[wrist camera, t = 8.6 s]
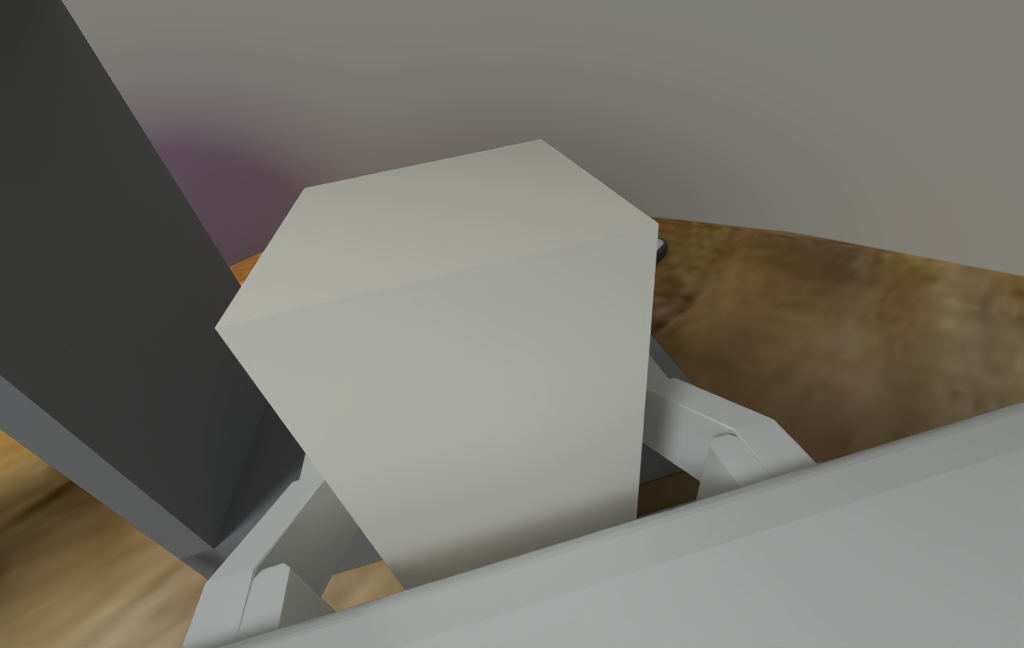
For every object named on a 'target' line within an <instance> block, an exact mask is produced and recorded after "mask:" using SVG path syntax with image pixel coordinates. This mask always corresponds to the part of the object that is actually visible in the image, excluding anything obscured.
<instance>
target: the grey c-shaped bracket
mask: <svg viewBox="0 0 1024 648" xmlns="http://www.w3.org/2000/svg"><path fill="white" fill-rule="evenodd" d="M240 288H241V286H240V284H239V282H238V281H237V279H236V278H235V276H234V274H233V273H232V271H231V270H230V268H229V266H228V265H227V263H226V262H225V260H224V259H223V257H222V255H221V254H220V252H219V251H218V249H217V247H216V246H215V244H214V243H213V241H212V239H211V238H210V236H209V235H208V233H207V231H206V230H205V228H204V227H203V225H202V223H201V222H200V220H199V219H198V217H197V215H196V214H195V212H194V211H193V209H192V207H191V206H190V204H189V203H188V201H187V200H186V198H185V197H184V195H183V193H182V192H181V190H180V188H179V187H178V185H177V184H176V182H175V180H174V179H173V177H172V176H171V174H170V172H169V171H168V169H167V168H166V166H165V164H164V163H163V161H162V160H161V158H160V156H159V155H158V153H157V152H156V150H155V149H154V147H153V145H152V144H151V142H150V141H149V139H148V137H147V136H146V134H145V133H144V131H143V129H142V128H141V126H140V125H139V123H138V121H137V120H136V118H135V117H134V115H133V113H132V112H131V110H130V109H129V107H128V106H127V104H126V102H125V101H124V99H123V98H122V96H121V94H120V93H119V91H118V90H117V88H116V87H115V85H114V84H113V82H112V80H111V78H110V77H109V76H108V74H107V72H106V71H105V69H104V67H103V66H102V64H101V62H100V61H99V59H98V58H97V56H96V55H95V53H94V51H93V50H92V48H91V47H90V45H89V43H88V42H87V40H86V39H85V37H84V35H83V34H82V32H81V31H80V29H79V27H78V26H77V24H76V23H75V21H74V19H73V18H72V16H71V15H70V13H69V12H68V10H67V8H66V7H65V5H64V4H63V2H62V0H0V429H1V430H2V431H4V432H5V433H6V434H8V435H9V436H10V437H12V438H13V439H15V440H16V441H17V442H19V443H20V444H21V445H23V446H24V447H26V448H27V449H28V450H30V451H31V452H33V453H34V454H35V455H37V456H38V457H39V458H41V459H42V460H44V461H45V462H46V463H48V464H49V465H50V466H52V467H53V468H55V469H56V470H57V471H59V472H60V473H61V474H63V475H64V476H66V477H67V478H68V479H70V480H71V481H73V482H74V483H75V484H77V485H78V486H79V487H81V488H82V489H84V490H85V491H86V492H88V493H89V494H90V495H92V496H93V497H95V498H96V499H97V500H99V501H100V502H101V503H103V504H104V505H106V506H107V507H108V508H110V509H111V510H113V511H114V512H115V513H117V514H118V515H119V516H121V517H122V518H124V519H125V520H126V521H128V522H129V523H130V524H132V525H133V526H135V527H136V528H137V529H139V530H140V531H142V532H143V533H144V534H146V535H147V536H148V537H150V538H151V539H153V540H154V541H155V542H157V543H158V544H159V545H161V546H162V547H164V548H165V549H166V550H168V551H169V552H170V553H172V554H173V555H175V556H176V557H177V558H179V559H180V560H182V561H183V562H184V563H186V564H187V565H188V566H190V567H191V568H193V569H194V570H195V571H197V572H198V573H199V574H201V575H202V576H204V577H205V578H206V579H208V580H209V579H210V578H211V577H212V575H213V574H214V573H215V572H216V571H217V570H218V568H219V567H220V566H221V565H222V564H223V563H224V561H225V560H226V559H227V558H228V557H229V556H230V554H231V553H232V552H233V551H234V550H235V549H236V547H237V546H238V545H239V544H240V543H241V542H242V541H243V539H244V538H245V537H246V536H247V535H248V534H249V532H250V531H251V530H252V529H253V528H254V527H255V525H256V524H257V523H258V522H259V521H260V520H261V518H262V517H263V516H264V515H265V514H266V513H267V511H268V510H269V509H270V508H271V507H272V506H273V504H274V503H275V502H276V501H277V500H278V499H279V497H280V496H281V495H282V494H283V493H284V492H285V490H286V489H287V488H288V487H289V486H290V485H291V483H292V482H294V481H298V480H299V479H300V475H301V470H302V466H303V462H304V458H305V452H304V450H303V449H302V447H301V446H300V445H299V443H298V442H297V441H296V439H295V438H294V436H293V435H292V434H291V432H290V431H289V430H288V428H287V427H286V425H285V424H284V423H283V421H282V420H281V419H280V417H279V416H278V414H277V413H276V412H275V410H274V409H273V408H272V406H271V405H270V403H269V402H268V401H267V399H266V398H265V397H264V395H263V394H262V392H261V391H260V390H259V388H258V387H257V386H256V384H255V383H254V381H253V380H252V379H251V377H250V376H249V375H248V373H247V372H246V370H245V369H244V368H243V366H242V365H241V364H240V362H239V361H238V359H237V358H236V357H235V355H234V354H233V353H232V351H231V350H230V348H229V347H228V346H227V344H226V343H225V342H224V340H223V339H222V337H221V336H220V335H219V333H218V332H217V331H216V329H215V327H216V325H217V324H218V322H219V321H220V319H221V317H222V316H223V314H224V313H225V311H226V310H227V308H228V307H229V305H230V303H231V302H232V300H233V299H234V297H235V296H236V294H237V293H238V291H239V289H240ZM649 355H650V356H651V357H652V358H653V360H654V361H655V362H656V363H657V365H658V366H659V367H660V368H661V370H662V371H663V372H664V373H665V375H666V376H667V377H668V378H669V379H671V378H677V379H679V380H681V381H684V382H686V383H688V384H691V385H693V384H692V382H691V381H690V380H689V379H688V378H687V376H686V375H685V374H684V373H683V372H682V370H681V369H680V368H679V367H678V366H677V365H676V363H675V362H674V361H673V360H672V359H671V357H670V356H669V355H668V354H667V353H666V351H665V350H664V349H663V348H662V347H661V345H660V344H659V343H658V342H657V341H656V340H655V338H654V337H653V336H652V335H651V334H650V346H649ZM693 386H694V385H693ZM682 471H684V470H683V469H681V468H680V467H678V466H677V465H675V464H674V463H672V462H671V461H669V460H668V459H666V458H665V457H664V456H662V455H661V454H659V453H658V452H656V451H655V450H653V449H652V448H650V447H649V446H647V445H646V444H644V443H643V442H642V451H641V464H640V478H639V484H642V483H645V482H648V481H652V480H655V479H659V478H662V477H665V476H669V475H672V474H676V473H679V472H682ZM380 560H383V559H382V558H381V556H380V555H379V553H378V552H377V551H376V549H375V548H374V547H373V545H372V544H371V542H370V541H369V540H368V538H367V537H366V536H365V534H364V533H363V531H362V530H361V529H360V527H358V529H357V531H356V533H355V535H354V537H353V538H352V540H351V542H350V544H349V546H348V548H347V549H346V551H345V553H344V555H343V557H342V559H341V561H340V562H339V564H338V566H337V568H336V570H335V572H334V573H333V574H336V573H340V572H343V571H346V570H350V569H353V568H356V567H360V566H363V565H367V564H370V563H373V562H377V561H380Z"/></svg>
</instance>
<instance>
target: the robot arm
mask: <svg viewBox="0 0 1024 648" xmlns="http://www.w3.org/2000/svg"><path fill="white" fill-rule="evenodd" d="M642 442H643V443H644V444H646V445H647V446H649V447H650V448H652V449H653V450H655V451H656V452H658V453H659V454H661V455H662V456H664V457H665V458H666V459H668V460H669V461H671V462H672V463H674V464H675V465H677V466H678V467H680V468H681V469H683V470H684V471H686V472H687V473H688V474H690V475H691V476H693V477H694V478H696V479H697V480H699V481H700V486H699V490H698V494H697V498H696V502H693V503H690V504H686V505H683V506H680V507H676V508H673V509H670V510H667V511H663V512H660V513H657V514H654V515H650V516H647V517H644V518H640V519H637V520H634V521H631V522H627V523H624V524H621V525H618V526H614V527H611V528H608V529H604V530H601V531H598V532H595V533H591V534H588V535H585V536H582V537H578V538H575V539H572V540H569V541H565V542H562V543H559V544H555V545H552V546H549V547H546V548H542V549H539V550H536V551H533V552H529V553H526V554H523V555H520V556H516V557H513V558H510V559H507V560H503V561H500V562H497V563H494V564H490V565H487V566H484V567H481V568H477V569H474V570H471V571H467V572H464V573H461V574H458V575H454V576H451V577H448V578H445V579H441V580H438V581H435V582H432V583H428V584H425V585H422V586H419V587H415V588H412V589H409V590H405V591H402V592H399V593H396V594H392V595H389V596H386V597H383V598H379V599H376V600H373V601H369V602H366V603H363V604H360V605H356V606H353V607H350V608H347V609H343V610H340V611H337V612H336V611H335V610H334V609H333V608H332V607H331V606H330V605H329V604H328V603H327V602H325V601H324V600H323V599H322V598H321V595H322V594H323V592H324V590H325V588H326V586H327V584H328V583H329V581H330V579H331V577H332V575H333V573H334V572H335V570H336V568H337V566H338V564H339V562H340V561H341V559H342V557H343V555H344V553H345V551H346V549H347V548H348V546H349V544H350V542H351V540H352V538H353V537H354V535H355V533H356V531H357V529H358V527H359V526H358V525H357V523H356V522H355V520H354V519H353V518H352V516H351V515H350V514H349V512H348V511H347V509H346V508H345V507H344V505H343V504H342V503H341V501H340V500H339V498H338V497H337V496H336V494H335V493H334V492H333V490H332V489H331V487H330V486H329V485H328V483H327V482H326V481H325V479H324V478H323V476H322V475H321V474H320V472H319V471H318V470H317V468H316V467H315V465H314V464H313V463H312V461H311V460H310V459H309V457H308V456H307V454H306V453H305V458H304V462H303V466H302V470H301V475H300V479H299V480H298V481H294V482H292V483H291V485H290V486H289V487H288V488H287V489H286V490H285V492H284V493H283V494H282V495H281V496H280V497H279V499H278V500H277V501H276V502H275V503H274V504H273V506H272V507H271V508H270V509H269V510H268V511H267V513H266V514H265V515H264V516H263V517H262V518H261V520H260V521H259V522H258V523H257V524H256V525H255V527H254V528H253V529H252V530H251V531H250V532H249V534H248V535H247V536H246V537H245V538H244V539H243V541H242V542H241V543H240V544H239V545H238V546H237V547H236V549H235V550H234V551H233V552H232V553H231V554H230V556H229V557H228V558H227V559H226V560H225V561H224V563H223V564H222V565H221V566H220V567H219V568H218V570H217V571H216V572H215V573H214V574H213V575H212V577H211V578H210V579H209V580H208V581H207V582H206V584H205V586H204V589H203V592H202V594H201V597H200V600H199V603H198V605H197V608H196V611H195V614H194V616H193V619H192V622H191V625H190V628H189V630H188V633H187V636H186V639H185V641H184V644H183V647H182V648H1024V401H1023V402H1020V403H1016V404H1013V405H1010V406H1007V407H1003V408H1000V409H997V410H993V411H990V412H987V413H984V414H980V415H977V416H974V417H971V418H967V419H964V420H961V421H958V422H954V423H951V424H948V425H944V426H941V427H938V428H935V429H931V430H928V431H925V432H922V433H918V434H915V435H912V436H909V437H905V438H902V439H899V440H895V441H892V442H889V443H886V444H882V445H879V446H876V447H873V448H869V449H866V450H863V451H860V452H856V453H853V454H850V455H846V456H843V457H840V458H837V459H833V460H830V461H827V462H824V463H820V464H817V463H816V462H815V461H814V460H813V459H812V458H811V457H810V456H809V455H808V454H807V453H806V452H805V451H804V450H803V449H802V448H801V447H800V446H799V445H798V444H797V443H796V442H795V441H794V440H793V439H792V438H791V437H790V436H789V435H788V434H787V433H786V432H785V431H784V430H783V429H782V428H781V426H780V425H779V424H778V423H777V422H776V421H775V420H774V419H771V418H769V417H767V416H764V415H762V414H760V413H757V412H755V411H752V410H750V409H748V408H745V407H743V406H741V405H738V404H736V403H733V402H731V401H729V400H726V399H724V398H722V397H719V396H717V395H715V394H712V393H710V392H707V391H705V390H703V389H700V388H698V387H696V386H693V385H691V384H688V383H686V382H684V381H681V380H679V379H677V378H671V379H669V378H668V377H667V376H666V375H665V373H664V372H663V371H662V370H661V368H660V367H659V366H658V365H657V363H656V362H655V361H654V360H653V358H652V357H651V356H650V355H649V359H648V372H647V385H646V398H645V412H644V425H643V438H642Z"/></svg>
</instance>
